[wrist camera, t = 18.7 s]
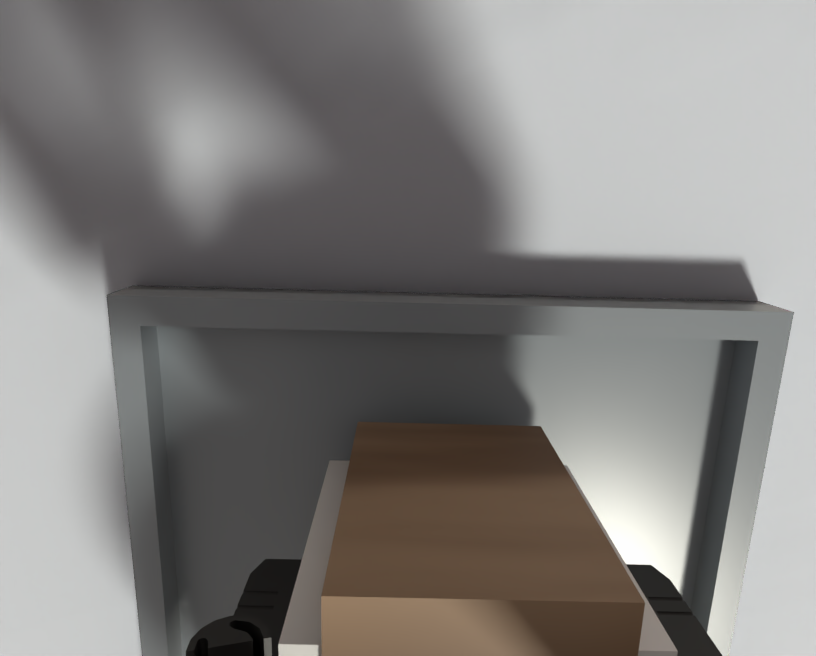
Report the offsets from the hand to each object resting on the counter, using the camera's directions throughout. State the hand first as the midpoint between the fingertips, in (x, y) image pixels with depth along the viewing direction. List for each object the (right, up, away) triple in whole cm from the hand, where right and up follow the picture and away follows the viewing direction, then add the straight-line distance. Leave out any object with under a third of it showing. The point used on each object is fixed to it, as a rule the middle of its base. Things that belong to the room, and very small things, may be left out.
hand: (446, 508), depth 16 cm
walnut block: (0, 0, 0) cm, 0 cm away
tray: (0, -5, +3) cm, 6 cm away
